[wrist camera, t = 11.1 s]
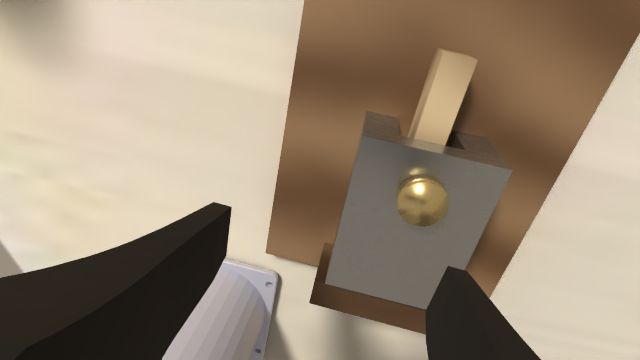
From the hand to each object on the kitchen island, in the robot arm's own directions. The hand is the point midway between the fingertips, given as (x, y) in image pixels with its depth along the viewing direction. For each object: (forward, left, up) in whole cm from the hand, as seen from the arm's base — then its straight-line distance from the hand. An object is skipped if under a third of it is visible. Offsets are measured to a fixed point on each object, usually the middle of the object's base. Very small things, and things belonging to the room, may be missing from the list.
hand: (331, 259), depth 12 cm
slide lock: (-1, -3, -8) cm, 9 cm away
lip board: (+3, -3, -9) cm, 10 cm away
